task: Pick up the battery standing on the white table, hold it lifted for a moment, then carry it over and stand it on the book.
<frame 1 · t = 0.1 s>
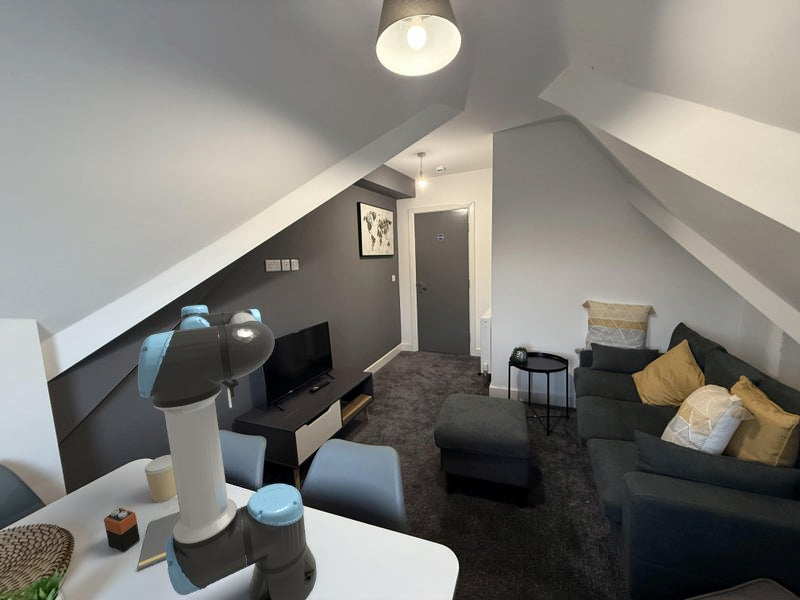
hand: (208, 411, 110), 28 cm above the table, fingers open, 13 cm apart
book: (174, 534, 94), on the table
battery: (124, 544, 92), on the table
coffee cup: (166, 494, 111), on the table
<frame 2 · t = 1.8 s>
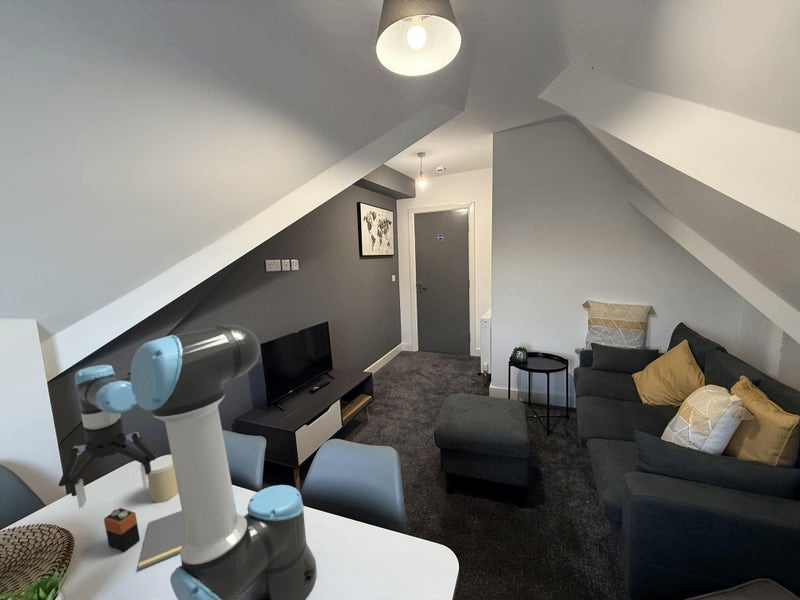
hand: (115, 494, 90), 15 cm above the table, fingers open, 13 cm apart
nothing on the table moved.
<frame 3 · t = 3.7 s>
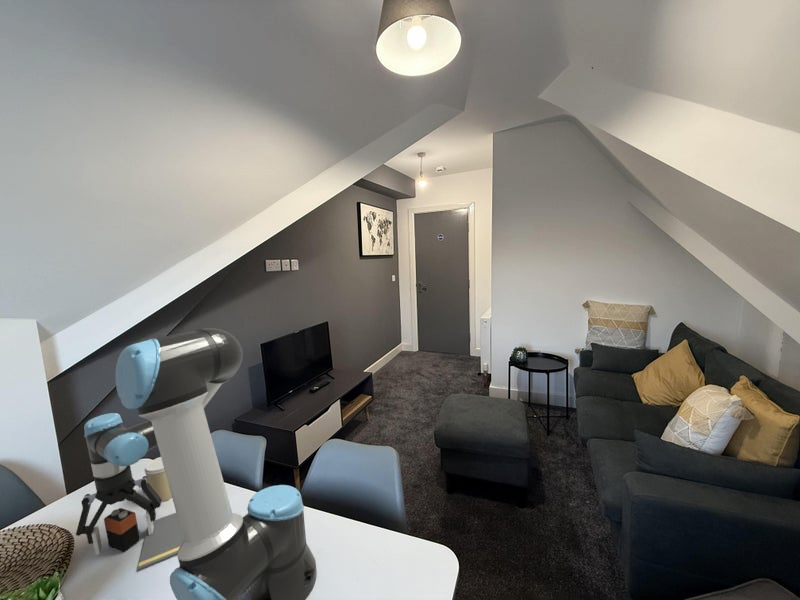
hand: (126, 540, 92), 1 cm above the table, fingers open, 11 cm apart
nothing on the table moved.
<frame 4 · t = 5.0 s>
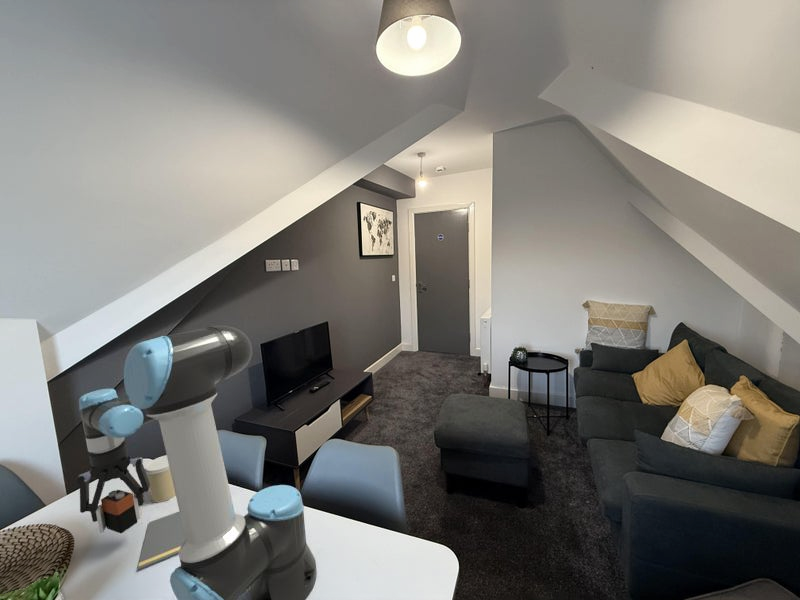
hand: (121, 522, 91), 7 cm above the table, fingers closed on battery, 7 cm apart
battery: (122, 526, 91), point 6 cm above the table, touching gripper
everything else where it was.
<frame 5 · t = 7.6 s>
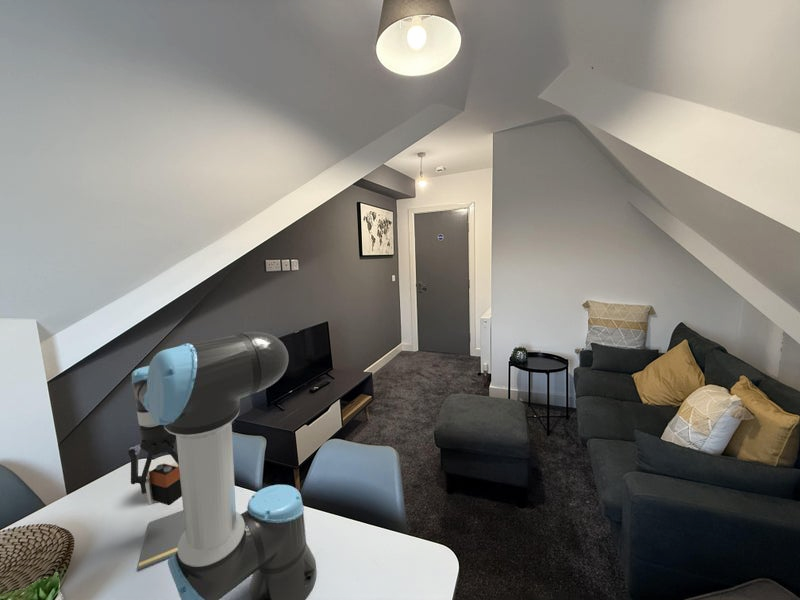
hand: (168, 495, 93), 12 cm above the table, fingers closed on battery, 7 cm apart
battery: (168, 499, 93), point 11 cm above the table, touching gripper
everything else where it was.
when the fingers open (2 cm above the table, at t = 10.1 s): battery stays where it is, resting on book.
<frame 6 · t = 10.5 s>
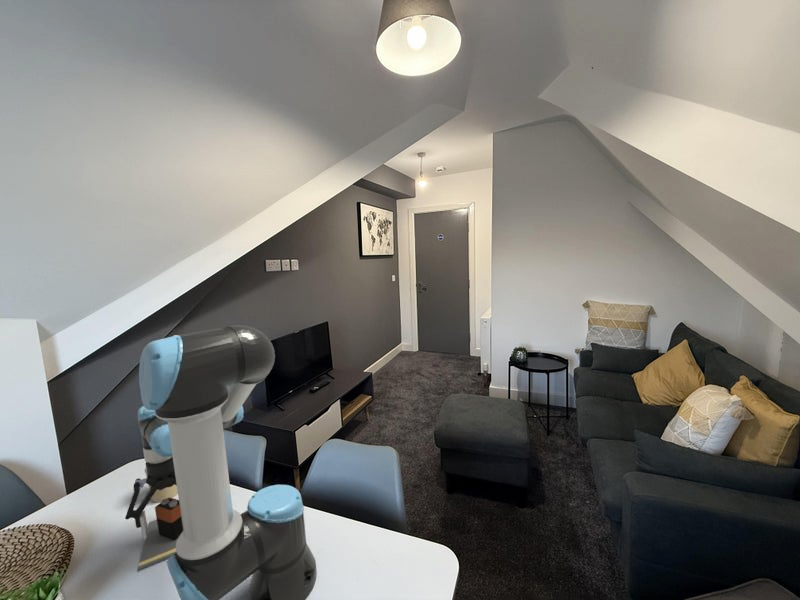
hand: (172, 525, 94), 3 cm above the table, fingers open, 12 cm apart
battery: (174, 532, 94), resting on book
everything else where it was.
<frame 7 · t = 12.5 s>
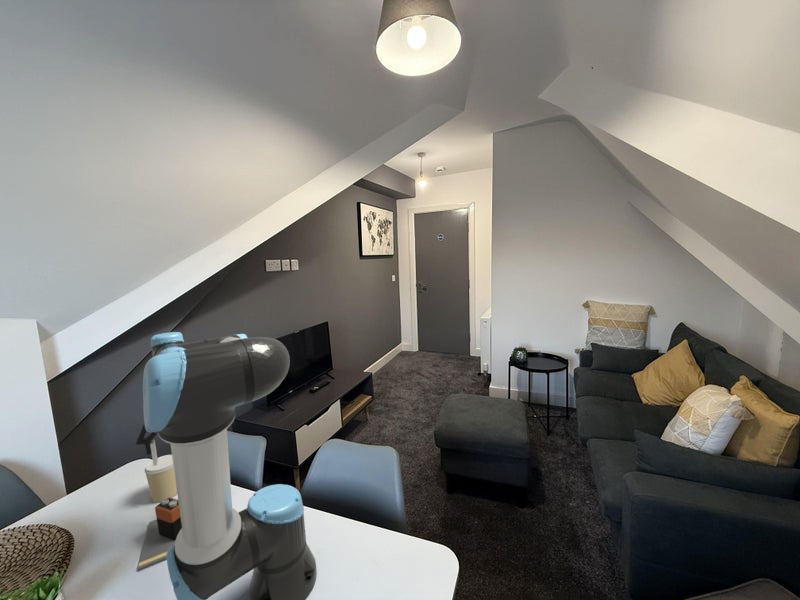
hand: (184, 454, 96), 22 cm above the table, fingers open, 13 cm apart
nothing on the table moved.
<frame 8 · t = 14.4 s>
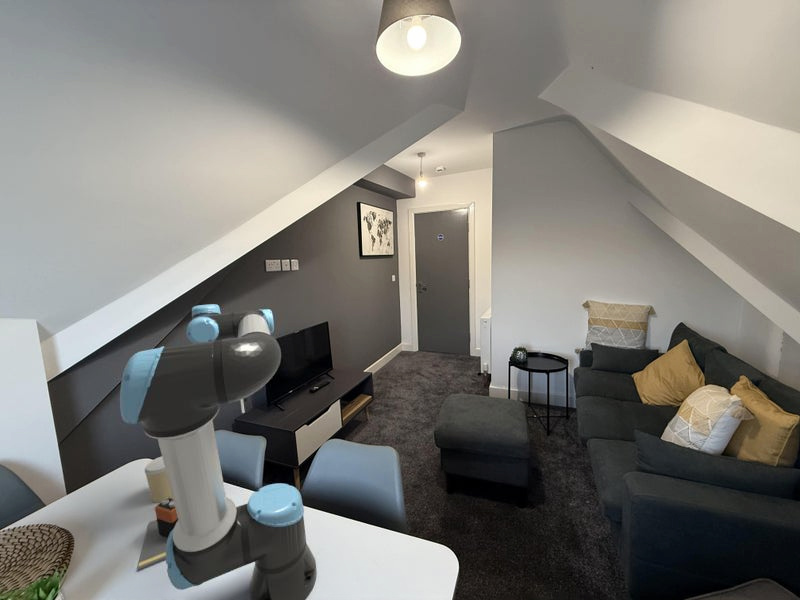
hand: (219, 417, 104), 29 cm above the table, fingers open, 13 cm apart
nothing on the table moved.
at the end: battery inside the target area on the book (0.0 cm from its centre), point 0.4 cm above the book's base; battery tilted 0°; the gripper is holding nothing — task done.
